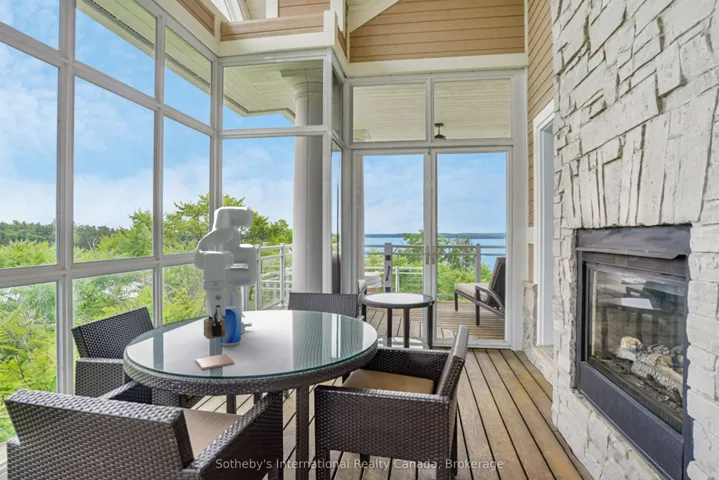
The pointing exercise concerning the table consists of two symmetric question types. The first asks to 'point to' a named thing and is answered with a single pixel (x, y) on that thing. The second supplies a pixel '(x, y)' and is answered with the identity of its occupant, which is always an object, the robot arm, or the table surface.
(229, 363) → the coaster
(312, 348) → the table surface
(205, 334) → the walnut block
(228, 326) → the beer can
